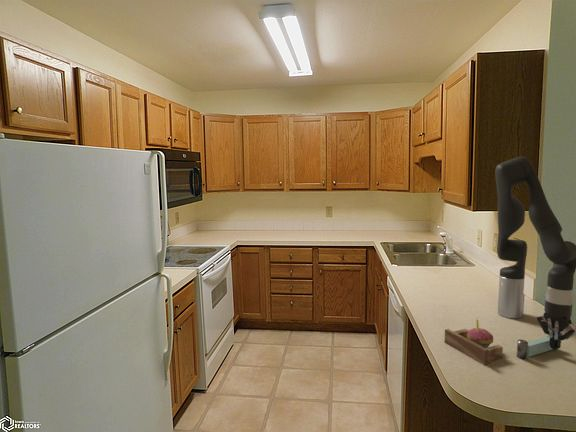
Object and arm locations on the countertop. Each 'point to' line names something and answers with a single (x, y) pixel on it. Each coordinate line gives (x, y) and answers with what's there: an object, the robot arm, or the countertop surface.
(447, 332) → the wooden u-shaped bracket
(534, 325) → the countertop surface
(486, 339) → the cupcake
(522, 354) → the post
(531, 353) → the bar
